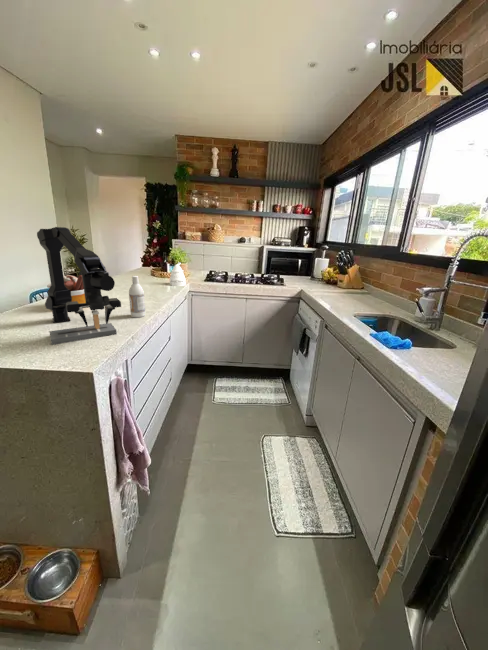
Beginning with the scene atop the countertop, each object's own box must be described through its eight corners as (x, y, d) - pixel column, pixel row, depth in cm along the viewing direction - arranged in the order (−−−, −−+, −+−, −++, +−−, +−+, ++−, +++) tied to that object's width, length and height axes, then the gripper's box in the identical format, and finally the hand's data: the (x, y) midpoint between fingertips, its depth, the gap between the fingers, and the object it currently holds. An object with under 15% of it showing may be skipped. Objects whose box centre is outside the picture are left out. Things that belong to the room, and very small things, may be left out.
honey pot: (181, 282, 228) (180, 261, 222) (188, 285, 219) (188, 263, 213) (167, 284, 220) (166, 261, 214) (174, 286, 211) (173, 263, 205)
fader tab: (93, 326, 109) (91, 310, 107) (99, 325, 110) (97, 310, 108) (95, 329, 106) (92, 312, 104) (100, 328, 108) (98, 312, 105)
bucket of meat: (44, 310, 135) (36, 270, 128) (67, 302, 150) (61, 267, 144) (81, 313, 134) (75, 273, 127) (100, 305, 149) (96, 269, 143)
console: (50, 336, 104) (49, 330, 103) (111, 327, 116) (110, 322, 116) (51, 344, 96) (50, 339, 95) (116, 334, 109) (116, 329, 108)
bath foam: (129, 314, 135) (126, 275, 129) (143, 313, 139) (141, 275, 132) (132, 318, 130) (128, 277, 123) (146, 316, 133) (144, 277, 127)
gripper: (65, 293, 92) (72, 335, 97) (122, 289, 102) (126, 327, 107) (62, 287, 100) (69, 326, 105) (116, 284, 111) (119, 319, 116)
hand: (97, 325), depth 108 cm, fingers open, 7 cm apart
